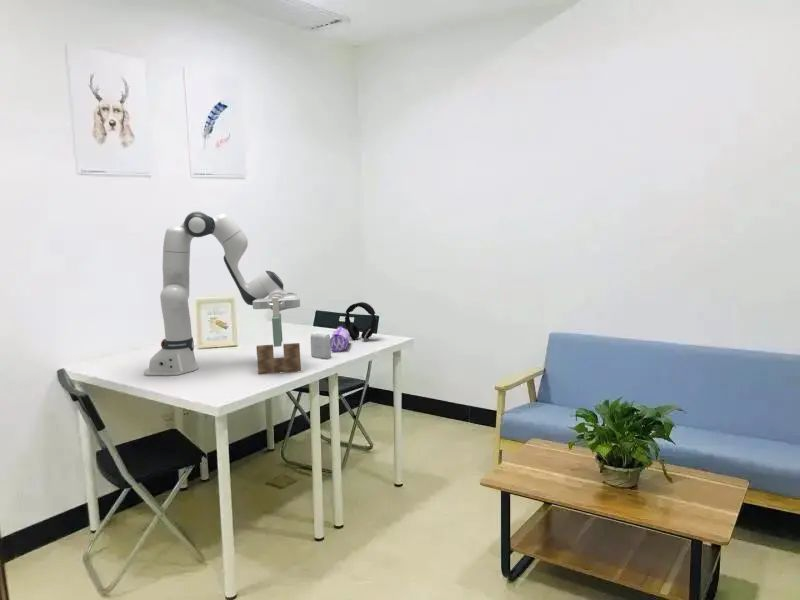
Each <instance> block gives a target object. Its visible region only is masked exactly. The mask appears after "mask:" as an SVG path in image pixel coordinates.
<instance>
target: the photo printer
mask: <svg viewBox="0 0 800 600" xmlns="http://www.w3.org/2000/svg"><path fill="white" fill-rule="evenodd" d="M330 339H331V336H330V334H329V333H327V332H326V331H322V330H321V331H320V330H318V331H314V332H311V333H310V355H311V357H312V358H313V357H315V358H319V359H325V358H328V359H330V358H331V357H332V349H331V344H330Z"/></svg>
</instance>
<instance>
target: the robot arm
mask: <svg viewBox="0 0 800 600" xmlns="http://www.w3.org/2000/svg"><path fill="white" fill-rule="evenodd" d="M183 221H184V222H183V223H182V224H181V225H172V226H169V227H167V228H166V231H165V234H164V239H163V245H162V246H163V247H162V284H163V285H162V290H161V291H160V297H159V298H160V306H161V307H160V308H161V313H162V319H163V326H164V335H165V336H164V337H165V338H163V339H162V340H161V342H160V346H161V348H160V349H159V350H158V351H157V352H156V353H154V355H153V356H152V357H151V358H150V360H149V363H148V364H149V365H148V367H147V368H145V370H144V371H143V375H144V374H145V375H144V376H180V375H183V374H185V373H189V372H193V371H196V370H198V369H199V365H198V363H197V360H196V357H195V351H194V349H195V344H194V343H195V342H194V337H193V336H192V335H193V334H192V333H193V332H192V322H191V321H192V320H191V315H190V314H191V313H190V308H189V298H190V263H191V262H190V261H191V259H190V258H191V242H192V240H193V239H194V238H203V237H206V236H208V235H212V236H214V237H215V238H216V240H217V241H218V242H219V244H220V245H221V246H222V248H223V252H224V256H223V261H224V264H225V266H226V268H227V270H228V272H229V274H230V276H231V278H232V280H233V281H234V283H235V285H236V287H237V288H238V291H239V293H240V297H241V298H242V300H243V302H244V303H245V304H247V306H248V305H249V306H252V309H253V310H267V309H270V310H271V311H273V306H272V297H278V298H279V312H282V311H285V310H288V309H297V308H300V307H301V300H300V299H301V298H300V297H299V295H298V294H297V293H296V292H287V291H286V290H285V289H284V282H283V281H282V279H281V278H280V276H278V274H276V273H275V272H274V271H271V270H265V271H264V272H262V273H261V274H259V275H258V276H257V277H256V278H254V279H252V280H251V281H250V282H248V283H247V282H246V281H245V278H244V277H243V274H242V273H241V271H240V269H239V262H240V260H241V258H242V256H243V255H244V254H245V252H246V250H247V249H248V245H249V242H248V241H249V239H248V237H247V235H246V234H245V232H244V231H243V230H242V228H241V227H240V226H239V224H237V222H236V221H235V220H234V219H233V218H231V216H230V215H229V214H227V213H222V212H221V213H218V214H216V215H214V216H212V217H211V216H210V215H207V214H206V213H204V212H202V211H197V210H196V211H195V210H194V211H192V212H190V213H188V214H187V216H185V218H184V220H183Z"/></svg>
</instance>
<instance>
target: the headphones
mask: <svg viewBox="0 0 800 600" xmlns="http://www.w3.org/2000/svg"><path fill="white" fill-rule="evenodd" d="M356 308H362V309H364V310H365V311H366V312H367V313H368V315H370V316H371V317H372V320H371V323H370V325H366V327H365V328H364V329H363V330H362V332H361V335H360V330H359V327H358V326H357V325H356V324H354V323H353V324H351V319H350V313H353V311H354V310H355V309H356ZM344 313H345V314H346V315H345V317H344V325H345V326H346V330H347V331H348V332H349V334H350V339H352V340H353V341H355V340H357V339H359V336H360V337H361V338H362V339H363V341H367V340H369V339H370V338H371V337H372V335H373V334H374V331H375V329H376V327H377V319H376V315H375V314H376V311H375V309H374V308H373V306H371V304H369V303H367V302H365V301H363V302H362V301H361V302H357V303H353V304H351V305H349V306H348V307H347V308H346V310H345V312H344Z"/></svg>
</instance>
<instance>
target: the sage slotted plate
mask: <svg viewBox="0 0 800 600" xmlns="http://www.w3.org/2000/svg"><path fill="white" fill-rule="evenodd" d="M272 306H273V310H272V317H271V324H272V325H271V326H272V341H273V348H274V347H275V348H276V347H277V348H278V347H282V343H283V327H282V314H281V313H280V311H279V298H278V297H272Z"/></svg>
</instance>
